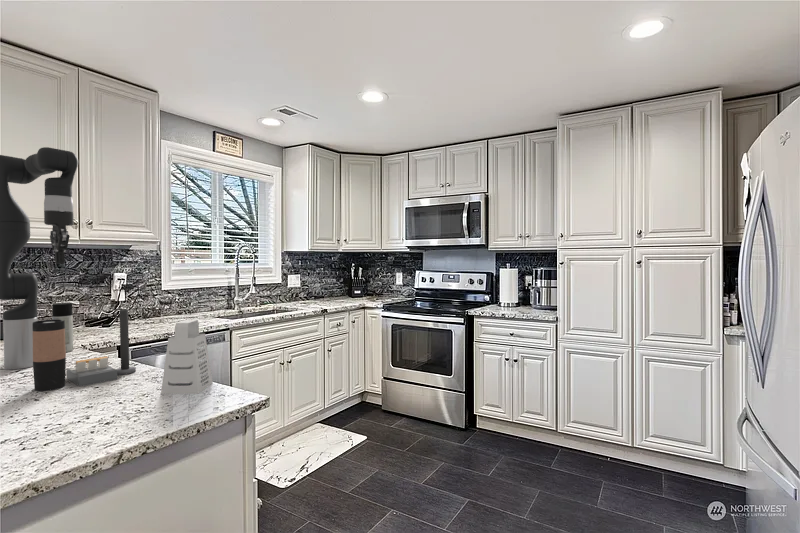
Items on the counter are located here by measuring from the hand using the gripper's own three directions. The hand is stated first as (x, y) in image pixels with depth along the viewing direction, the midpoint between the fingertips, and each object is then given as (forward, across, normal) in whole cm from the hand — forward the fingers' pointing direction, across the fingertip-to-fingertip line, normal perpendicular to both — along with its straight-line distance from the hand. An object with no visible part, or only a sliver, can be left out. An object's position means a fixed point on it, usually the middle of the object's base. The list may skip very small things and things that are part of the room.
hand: (60, 263), depth 141 cm
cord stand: (+37, +12, +14) cm, 42 cm away
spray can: (+37, -44, +10) cm, 58 cm away
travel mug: (+37, +13, -6) cm, 40 cm away
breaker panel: (+37, +12, +5) cm, 39 cm away
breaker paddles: (+34, +12, +5) cm, 36 cm away
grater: (+37, +46, +20) cm, 62 cm away
